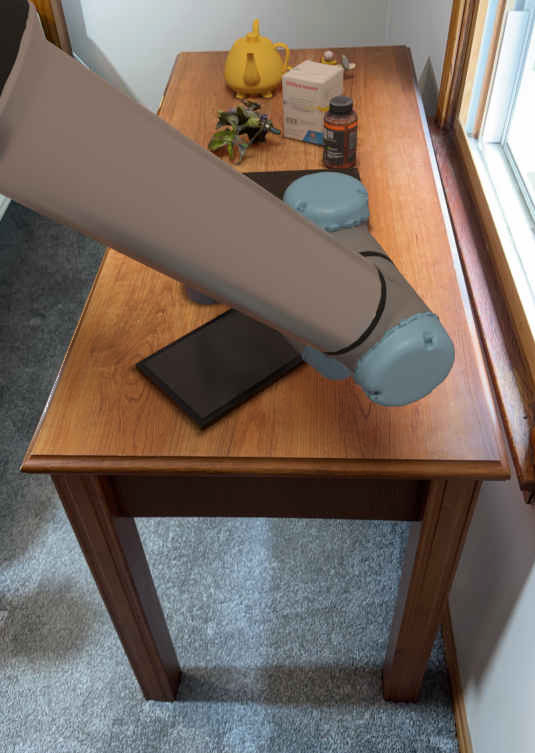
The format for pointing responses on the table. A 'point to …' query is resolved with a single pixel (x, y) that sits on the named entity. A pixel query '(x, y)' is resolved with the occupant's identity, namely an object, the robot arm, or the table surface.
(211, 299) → the pen pot
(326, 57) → the toy airplane
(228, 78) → the teapot
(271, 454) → the table surface
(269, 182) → the dark brown flat block
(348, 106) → the supplement bottle
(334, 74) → the ink box
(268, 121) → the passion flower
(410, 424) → the table surface
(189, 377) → the tablet
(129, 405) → the table surface
